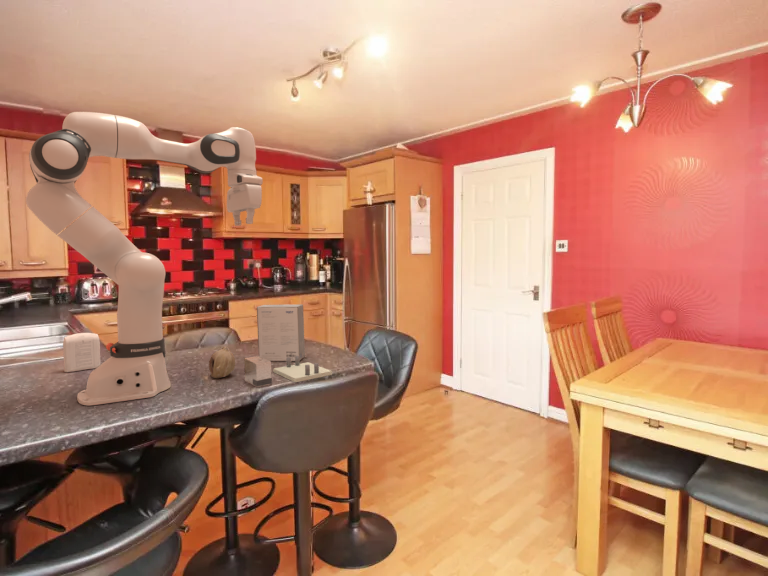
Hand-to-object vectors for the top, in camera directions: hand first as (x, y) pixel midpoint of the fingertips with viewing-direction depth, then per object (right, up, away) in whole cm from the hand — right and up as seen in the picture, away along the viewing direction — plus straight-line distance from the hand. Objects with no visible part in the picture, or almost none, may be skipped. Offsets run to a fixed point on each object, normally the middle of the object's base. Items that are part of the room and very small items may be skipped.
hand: (243, 224), depth 139 cm
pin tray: (+19, -48, 0) cm, 52 cm away
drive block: (+7, -49, -9) cm, 50 cm away
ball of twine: (-6, -49, -3) cm, 49 cm away
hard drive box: (+8, -47, +20) cm, 52 cm away
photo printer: (-56, -48, +6) cm, 74 cm away
